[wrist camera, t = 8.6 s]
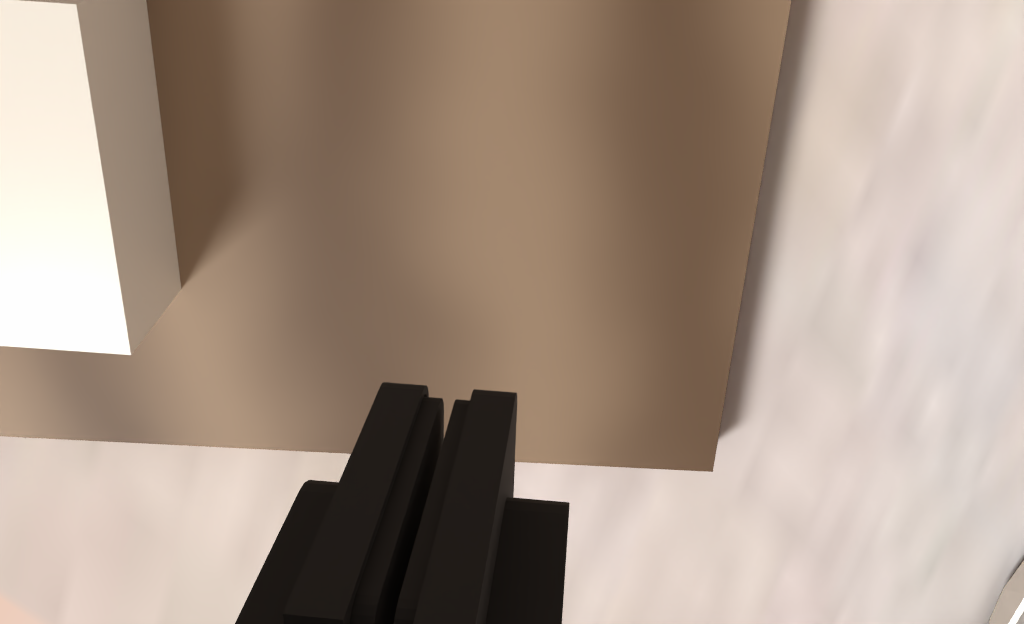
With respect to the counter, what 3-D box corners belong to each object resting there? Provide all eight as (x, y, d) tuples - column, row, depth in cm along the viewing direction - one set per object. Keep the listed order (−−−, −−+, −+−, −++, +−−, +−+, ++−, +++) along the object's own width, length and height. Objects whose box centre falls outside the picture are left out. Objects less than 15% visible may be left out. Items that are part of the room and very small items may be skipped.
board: (821, -261, 17) (835, -264, 16) (706, 448, 25) (712, 471, 24) (-775, -318, 18) (-844, -324, 17) (-410, 392, 25) (-444, 414, 25)
